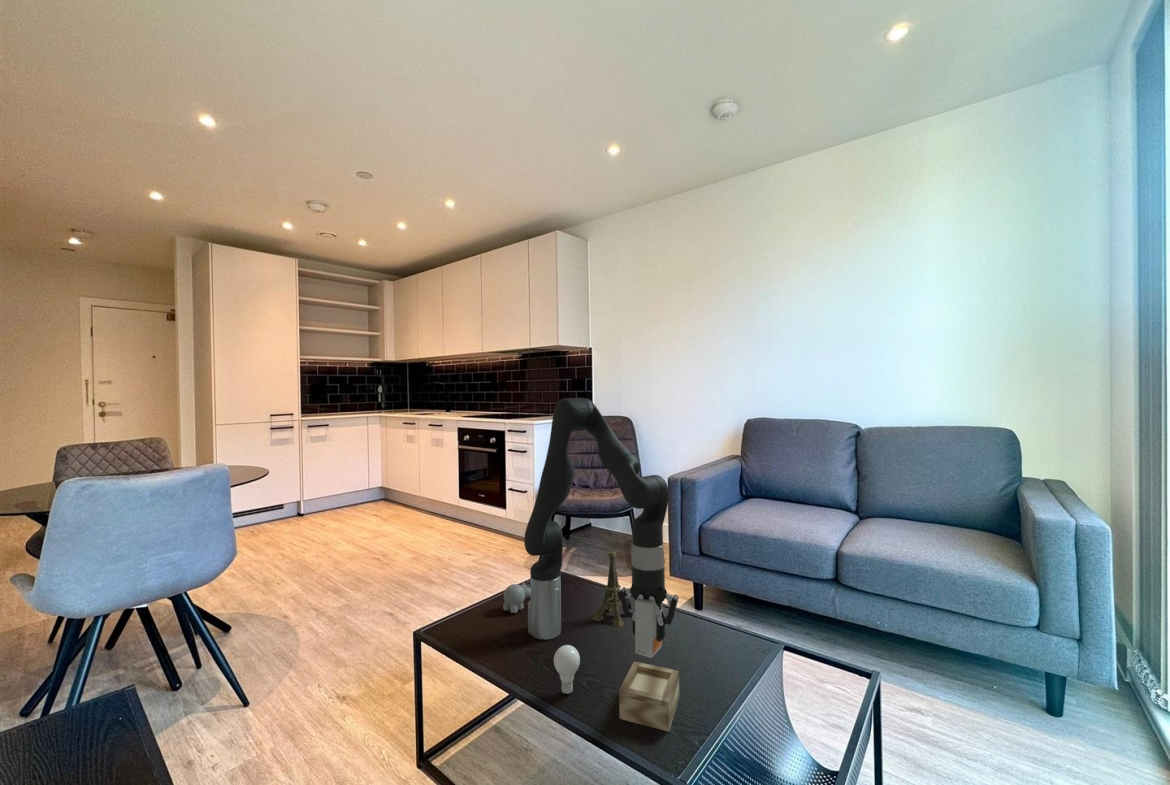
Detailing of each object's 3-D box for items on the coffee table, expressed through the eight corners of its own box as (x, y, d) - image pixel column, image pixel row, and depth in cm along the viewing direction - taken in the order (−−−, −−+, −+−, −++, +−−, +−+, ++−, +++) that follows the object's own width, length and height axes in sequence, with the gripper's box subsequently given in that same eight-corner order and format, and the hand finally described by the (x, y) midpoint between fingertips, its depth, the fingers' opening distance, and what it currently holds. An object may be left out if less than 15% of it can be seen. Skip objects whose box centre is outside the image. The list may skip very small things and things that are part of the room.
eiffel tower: (591, 619, 146) (590, 541, 146) (607, 606, 155) (606, 533, 155) (620, 627, 140) (619, 546, 141) (634, 614, 149) (633, 538, 150)
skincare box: (652, 659, 100) (651, 604, 100) (634, 653, 102) (634, 600, 102) (662, 646, 105) (662, 594, 105) (646, 641, 107) (645, 590, 107)
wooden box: (619, 718, 100) (619, 690, 100) (634, 686, 111) (634, 661, 111) (669, 731, 95) (668, 702, 96) (679, 697, 106) (678, 670, 107)
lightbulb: (553, 685, 112) (553, 640, 112) (579, 683, 112) (578, 639, 112) (554, 702, 105) (553, 654, 106) (581, 700, 106) (580, 653, 106)
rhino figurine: (539, 604, 157) (539, 579, 157) (513, 617, 148) (513, 591, 148) (525, 599, 162) (525, 575, 162) (499, 611, 152) (498, 585, 152)
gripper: (613, 564, 103) (614, 640, 103) (675, 572, 98) (677, 652, 97) (623, 554, 110) (624, 625, 110) (682, 561, 105) (683, 635, 104)
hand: (649, 637), depth 103 cm, fingers closed on skincare box, 4 cm apart
